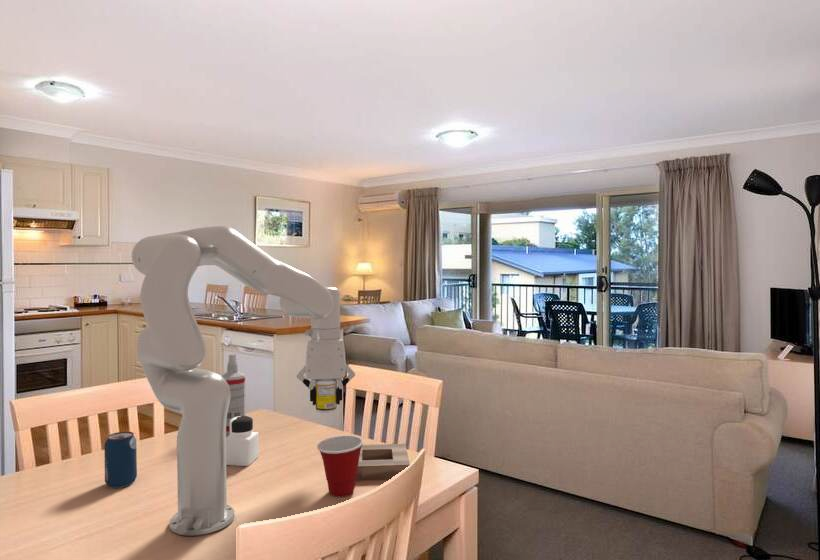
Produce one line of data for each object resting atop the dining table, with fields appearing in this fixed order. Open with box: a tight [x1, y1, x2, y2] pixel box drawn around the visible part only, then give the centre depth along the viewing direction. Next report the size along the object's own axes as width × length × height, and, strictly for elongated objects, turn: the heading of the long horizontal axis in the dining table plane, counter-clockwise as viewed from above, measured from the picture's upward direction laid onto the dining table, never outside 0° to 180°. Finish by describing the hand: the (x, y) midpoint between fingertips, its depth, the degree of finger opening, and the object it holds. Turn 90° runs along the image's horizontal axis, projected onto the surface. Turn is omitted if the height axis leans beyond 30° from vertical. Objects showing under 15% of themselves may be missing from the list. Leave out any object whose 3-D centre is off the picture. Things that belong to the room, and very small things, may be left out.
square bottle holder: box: [356, 443, 411, 481], centre depth 141 cm, size 16×16×4 cm
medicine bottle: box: [226, 415, 260, 467], centre depth 146 cm, size 7×7×12 cm
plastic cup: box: [317, 435, 364, 498], centre depth 126 cm, size 11×11×12 cm
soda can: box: [103, 431, 138, 489], centre depth 131 cm, size 7×7×12 cm
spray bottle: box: [220, 353, 247, 435], centre depth 173 cm, size 8×8×25 cm
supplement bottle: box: [315, 379, 338, 414], centre depth 139 cm, size 6×6×10 cm
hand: (326, 402), depth 139 cm, fingers closed on supplement bottle, 5 cm apart
